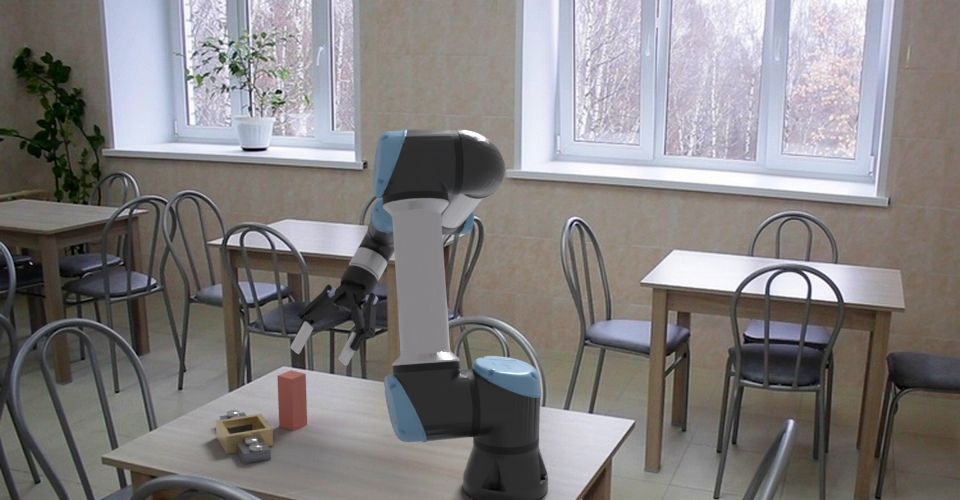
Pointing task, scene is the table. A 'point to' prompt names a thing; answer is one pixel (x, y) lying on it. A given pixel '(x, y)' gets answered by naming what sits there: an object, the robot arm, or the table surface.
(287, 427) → the link pin
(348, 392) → the table surface
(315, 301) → the robot arm
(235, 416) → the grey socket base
